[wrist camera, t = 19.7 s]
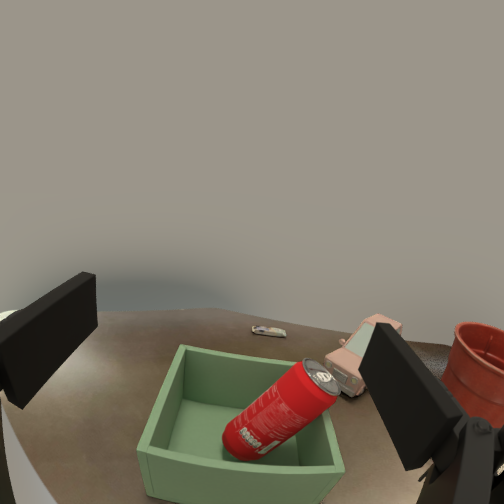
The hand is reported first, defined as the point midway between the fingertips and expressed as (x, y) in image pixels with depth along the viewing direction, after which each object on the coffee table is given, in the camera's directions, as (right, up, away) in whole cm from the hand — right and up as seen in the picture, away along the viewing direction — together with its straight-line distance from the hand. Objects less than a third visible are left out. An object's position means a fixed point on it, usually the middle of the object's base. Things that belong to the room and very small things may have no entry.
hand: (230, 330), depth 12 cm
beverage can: (-1, -17, +13) cm, 21 cm away
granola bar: (+4, -13, +42) cm, 44 cm away
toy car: (+19, -18, +31) cm, 41 cm away
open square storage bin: (-1, -19, +13) cm, 23 cm away
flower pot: (+30, -24, +15) cm, 41 cm away
